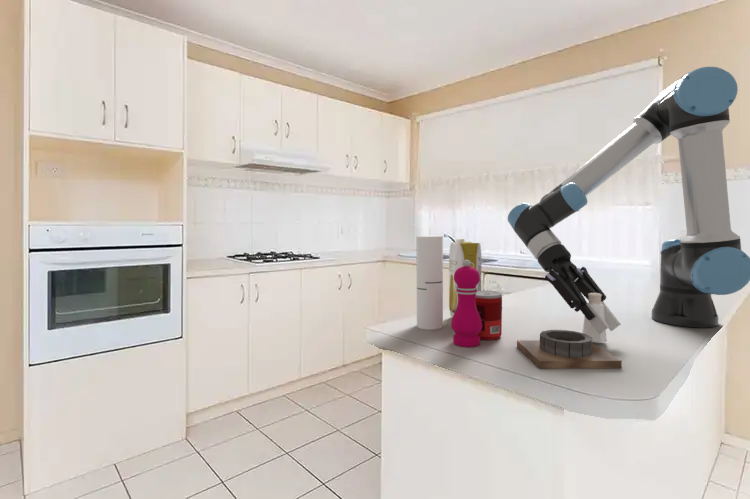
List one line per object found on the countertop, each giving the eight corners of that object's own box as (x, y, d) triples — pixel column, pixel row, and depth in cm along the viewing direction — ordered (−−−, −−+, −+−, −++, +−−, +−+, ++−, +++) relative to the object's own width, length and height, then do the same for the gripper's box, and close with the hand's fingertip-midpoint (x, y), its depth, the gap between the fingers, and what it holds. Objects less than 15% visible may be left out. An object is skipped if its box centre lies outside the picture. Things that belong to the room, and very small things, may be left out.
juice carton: (447, 316, 127) (447, 237, 125) (472, 315, 128) (472, 237, 126) (456, 324, 117) (456, 239, 116) (483, 323, 118) (484, 238, 117)
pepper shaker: (578, 340, 99) (578, 293, 98) (585, 335, 103) (586, 290, 102) (603, 344, 95) (604, 296, 94) (609, 339, 99) (610, 293, 98)
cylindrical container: (442, 330, 112) (442, 236, 110) (415, 329, 113) (415, 236, 111) (443, 323, 119) (443, 235, 117) (418, 322, 120) (417, 235, 118)
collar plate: (587, 346, 96) (587, 327, 96) (621, 368, 82) (622, 345, 82) (516, 346, 96) (517, 327, 96) (539, 368, 82) (539, 346, 82)
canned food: (503, 333, 108) (504, 291, 107) (498, 342, 100) (499, 296, 99) (473, 330, 111) (473, 289, 110) (467, 338, 103) (467, 294, 103)
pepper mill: (447, 339, 103) (447, 258, 101) (476, 338, 104) (476, 258, 102) (455, 348, 96) (456, 261, 94) (486, 347, 96) (487, 260, 95)
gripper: (561, 259, 115) (620, 332, 102) (518, 263, 107) (575, 343, 94) (579, 241, 110) (643, 315, 97) (535, 244, 102) (598, 325, 89)
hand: (609, 328), depth 95 cm, fingers closed on pepper shaker, 4 cm apart
